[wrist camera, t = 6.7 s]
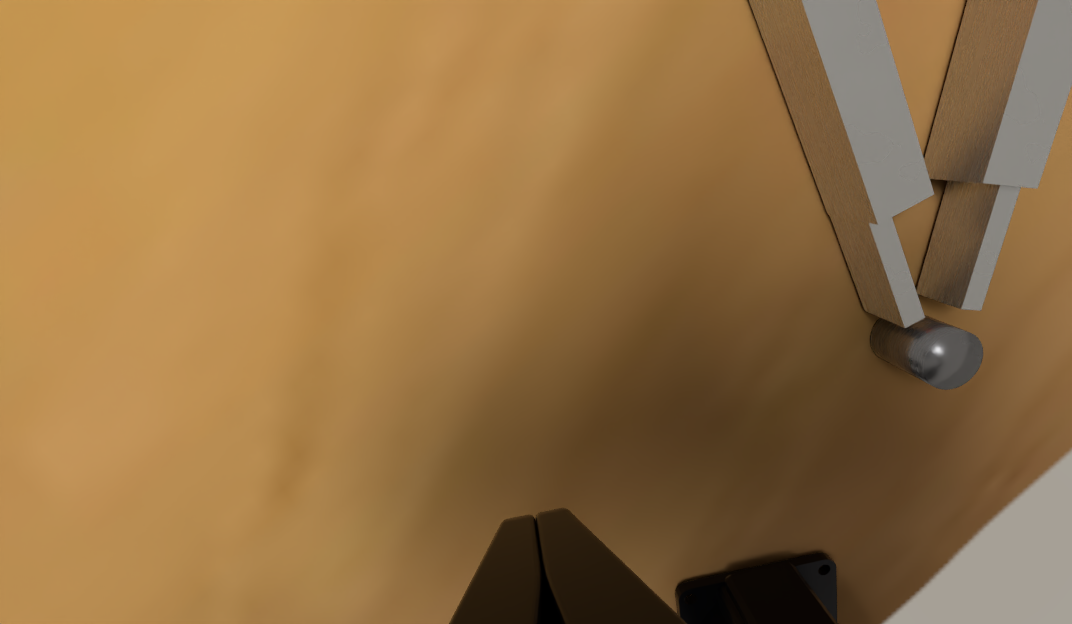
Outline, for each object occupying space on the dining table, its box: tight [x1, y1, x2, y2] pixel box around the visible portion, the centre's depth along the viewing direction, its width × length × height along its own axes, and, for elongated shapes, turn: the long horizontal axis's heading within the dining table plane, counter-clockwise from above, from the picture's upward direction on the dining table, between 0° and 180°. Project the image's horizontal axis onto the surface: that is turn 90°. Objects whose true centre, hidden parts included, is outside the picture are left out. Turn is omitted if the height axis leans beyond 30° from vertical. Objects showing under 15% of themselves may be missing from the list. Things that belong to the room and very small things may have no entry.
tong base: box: [870, 0, 1072, 390], centre depth 17 cm, size 22×2×3 cm, turn 175°
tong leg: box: [749, 0, 934, 328], centre depth 16 cm, size 19×2×3 cm, turn 29°
